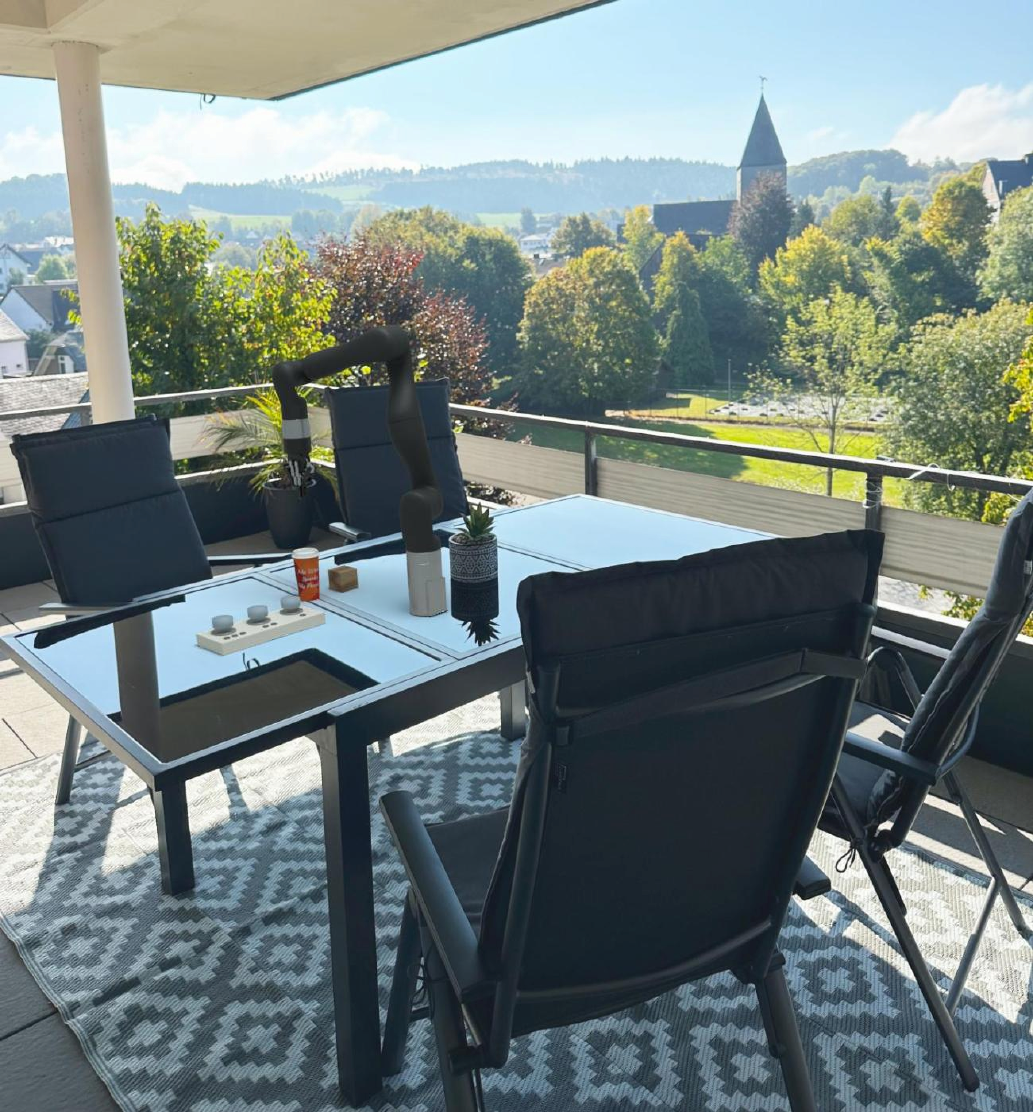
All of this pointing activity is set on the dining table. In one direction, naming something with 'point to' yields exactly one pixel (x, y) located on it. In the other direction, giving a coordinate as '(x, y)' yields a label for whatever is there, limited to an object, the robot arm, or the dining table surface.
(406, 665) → the dining table surface
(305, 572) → the paper cup
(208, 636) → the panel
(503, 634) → the dining table surface
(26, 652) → the dining table surface
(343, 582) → the walnut block
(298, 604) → the one-dot button
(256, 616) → the two-dot button
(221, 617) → the three-dot button
